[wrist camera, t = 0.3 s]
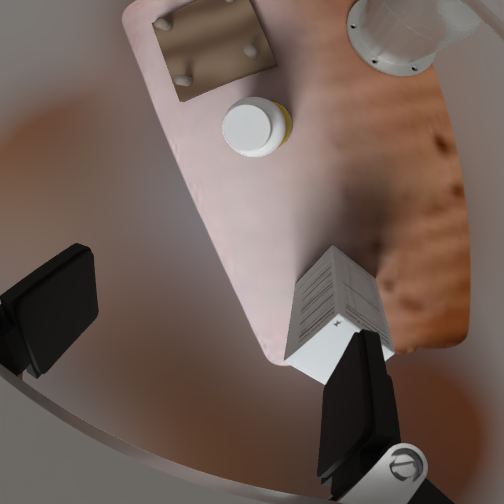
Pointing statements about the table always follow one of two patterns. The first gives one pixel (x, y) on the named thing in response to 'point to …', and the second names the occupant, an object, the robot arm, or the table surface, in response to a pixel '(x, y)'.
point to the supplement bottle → (256, 126)
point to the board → (212, 45)
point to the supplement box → (333, 314)
